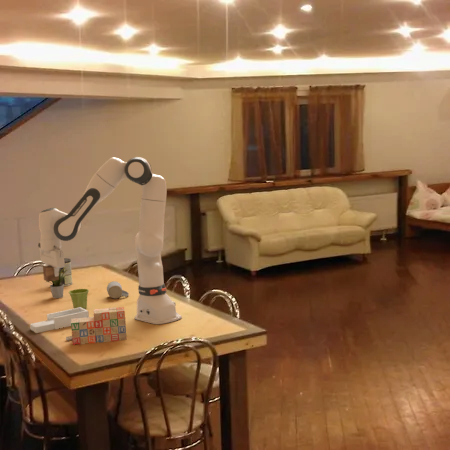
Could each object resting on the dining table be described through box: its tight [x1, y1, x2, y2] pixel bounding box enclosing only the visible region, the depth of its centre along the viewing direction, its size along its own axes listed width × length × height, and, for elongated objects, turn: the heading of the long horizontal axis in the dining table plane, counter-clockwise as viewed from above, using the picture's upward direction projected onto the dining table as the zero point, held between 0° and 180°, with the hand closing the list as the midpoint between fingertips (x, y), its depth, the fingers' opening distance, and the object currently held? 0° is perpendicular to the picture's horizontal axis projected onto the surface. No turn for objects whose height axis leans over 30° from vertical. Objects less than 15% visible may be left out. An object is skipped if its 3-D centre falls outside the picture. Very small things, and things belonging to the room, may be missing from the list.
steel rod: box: [65, 335, 72, 342], centre depth 261 cm, size 14×2×2 cm, turn 126°
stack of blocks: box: [70, 306, 127, 346], centre depth 255 cm, size 21×6×12 cm, turn 101°
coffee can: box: [59, 257, 74, 287], centre depth 357 cm, size 10×10×14 cm
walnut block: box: [42, 265, 59, 283], centre depth 283 cm, size 5×5×6 cm
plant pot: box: [68, 288, 90, 309], centre depth 305 cm, size 9×9×9 cm
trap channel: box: [29, 307, 90, 334], centre depth 278 cm, size 9×24×5 cm, turn 126°
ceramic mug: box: [106, 280, 129, 300], centre depth 324 cm, size 11×8×8 cm
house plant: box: [45, 267, 70, 299], centre depth 329 cm, size 14×14×16 cm
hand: (53, 275), depth 283 cm, fingers closed on walnut block, 5 cm apart
